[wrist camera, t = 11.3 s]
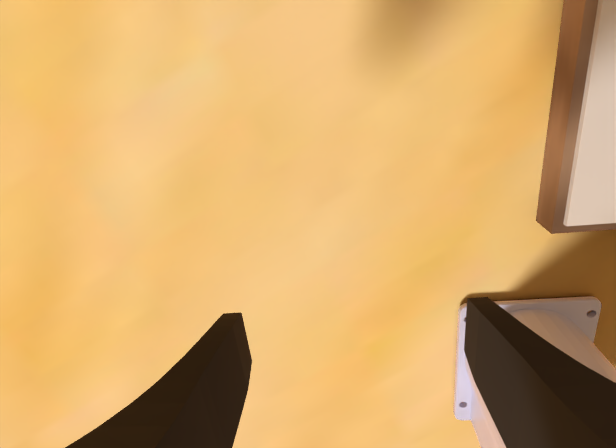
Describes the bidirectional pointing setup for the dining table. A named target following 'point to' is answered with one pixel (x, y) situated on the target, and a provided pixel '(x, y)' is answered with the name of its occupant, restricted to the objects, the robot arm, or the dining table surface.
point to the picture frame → (582, 123)
